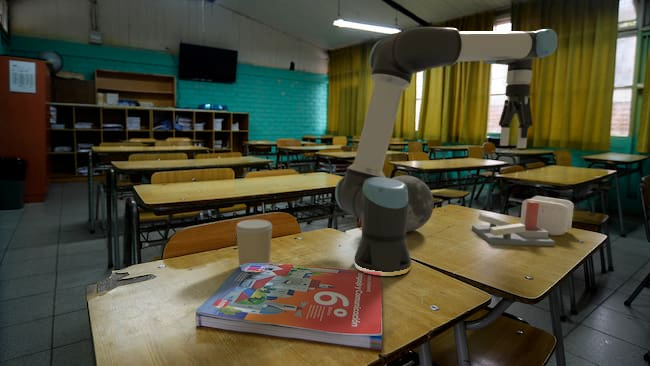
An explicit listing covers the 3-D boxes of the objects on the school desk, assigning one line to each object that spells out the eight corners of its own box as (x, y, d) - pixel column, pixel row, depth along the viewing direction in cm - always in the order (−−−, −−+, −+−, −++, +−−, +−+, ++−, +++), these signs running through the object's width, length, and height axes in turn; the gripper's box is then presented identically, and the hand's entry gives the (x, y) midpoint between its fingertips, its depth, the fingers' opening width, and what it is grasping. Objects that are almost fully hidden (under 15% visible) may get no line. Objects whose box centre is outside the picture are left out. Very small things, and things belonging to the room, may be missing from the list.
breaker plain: (481, 220, 134) (482, 215, 134) (477, 218, 137) (479, 213, 137) (507, 228, 135) (509, 223, 134) (504, 226, 138) (506, 220, 137)
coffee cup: (259, 258, 107) (258, 217, 105) (279, 268, 100) (279, 224, 99) (229, 267, 101) (228, 223, 99) (249, 277, 94) (248, 230, 92)
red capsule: (527, 235, 129) (530, 203, 127) (521, 232, 132) (524, 201, 130) (537, 235, 129) (541, 203, 127) (532, 232, 132) (535, 201, 130)
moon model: (368, 234, 132) (370, 177, 129) (382, 220, 150) (385, 170, 147) (427, 242, 124) (431, 181, 121) (435, 227, 143) (438, 174, 139)
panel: (491, 244, 123) (492, 234, 122) (471, 228, 141) (472, 219, 140) (554, 245, 123) (555, 235, 122) (526, 230, 140) (527, 220, 140)
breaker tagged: (494, 236, 124) (494, 230, 123) (490, 233, 127) (490, 227, 127) (525, 231, 123) (525, 225, 123) (520, 228, 126) (520, 223, 126)
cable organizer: (573, 232, 138) (577, 201, 136) (563, 238, 131) (567, 205, 129) (529, 224, 149) (532, 195, 147) (518, 228, 142) (521, 198, 141)
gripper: (549, 80, 117) (541, 149, 121) (513, 87, 142) (507, 144, 145) (524, 80, 118) (517, 148, 121) (492, 87, 142) (487, 144, 145)
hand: (512, 146), depth 133 cm, fingers open, 13 cm apart
